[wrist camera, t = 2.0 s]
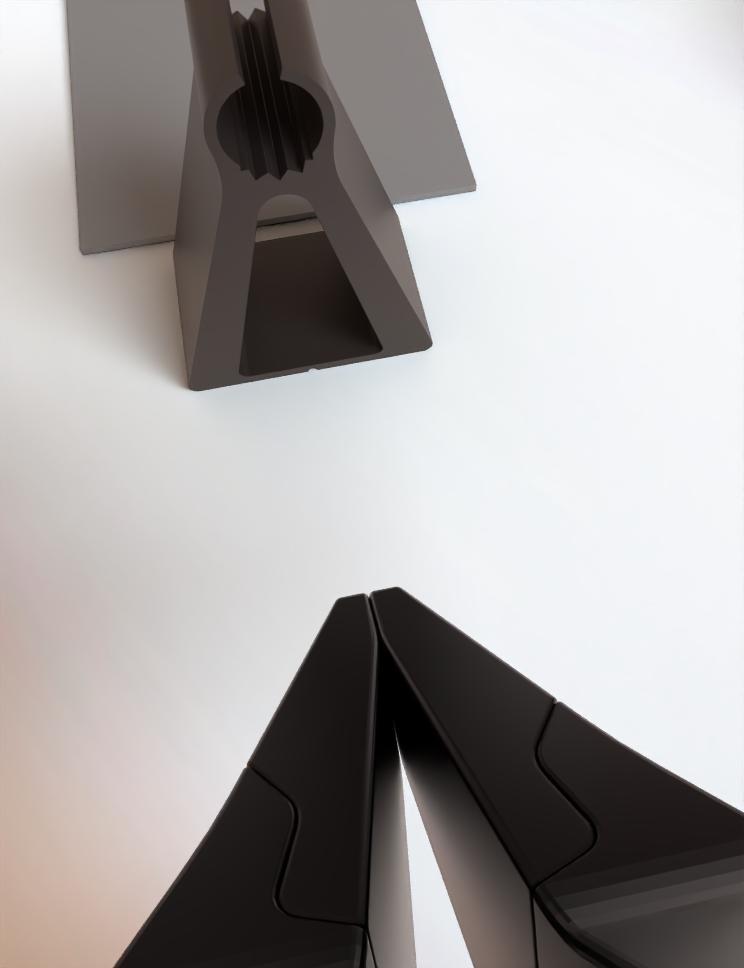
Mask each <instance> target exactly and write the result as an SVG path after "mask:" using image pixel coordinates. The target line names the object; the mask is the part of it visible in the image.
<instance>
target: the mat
mask: <svg viewBox="0 0 744 968" xmlns="http://www.w3.org/2000/svg"><path fill="white" fill-rule="evenodd" d="M229 1H230V7H231V12H232V14H233V13H234V12H236V11H239V12H240V13H241V14H242V15H243V16H244V17H245V18H246V19H247V20H248V19H249V17H250V16H251V14H252V12H253V10H254V8H257V9H260V10H263V11H265V6H264V2H263V0H229ZM307 2H308V6H309V11H310V15H311V19H312V23H313V27H314V31H315V35H316V39H317V43H318V47H319V51H320V55H321V59H322V63H323V66H324V68H325V70H326V72H327V74H328V76H329V78H330V80H331V82H332V84H333V86H334V88H335V90H336V92H337V94H338V96H339V98H340V100H341V102H342V104H343V106H344V108H345V110H346V112H347V114H348V116H349V118H350V120H351V122H352V124H353V126H354V129H355V131H356V133H357V135H358V137H359V139H360V141H361V143H362V145H363V147H364V149H365V151H366V153H367V155H368V157H369V159H370V161H371V163H372V165H373V167H374V169H375V171H376V173H377V175H378V177H379V179H380V181H381V183H382V185H383V187H384V189H385V191H386V193H387V195H388V197H389V199H390V201H391V203H392V204H397V203H403V202H409V201H415V200H421V199H427V198H434V197H440V196H446V195H452V194H458V193H464V192H470V191H476V182H475V179H474V176H473V173H472V170H471V167H470V164H469V161H468V158H467V155H466V152H465V148H464V145H463V142H462V139H461V136H460V133H459V130H458V127H457V124H456V121H455V118H454V115H453V112H452V109H451V106H450V103H449V100H448V97H447V94H446V91H445V88H444V85H443V82H442V79H441V76H440V72H439V69H438V66H437V63H436V60H435V57H434V54H433V51H432V48H431V45H430V42H429V39H428V36H427V33H426V30H425V27H424V24H423V21H422V18H421V15H420V12H419V9H418V6H417V3H416V0H307ZM67 12H68V31H69V49H70V68H71V87H72V105H73V124H74V143H75V162H76V180H77V199H78V218H79V236H80V250H81V252H82V254H83V255H86V254H92V253H98V252H104V251H111V250H117V249H123V248H129V247H135V246H141V245H147V244H153V243H159V242H165V241H172V240H175V232H176V223H177V214H178V205H179V196H180V188H181V179H182V170H183V161H184V152H185V143H186V134H187V125H188V116H189V107H190V98H191V89H192V80H193V71H194V64H193V58H192V51H191V44H190V38H189V31H188V24H187V18H186V11H185V4H184V0H67ZM265 12H266V11H265ZM312 217H317V215H316V213H315V211H314V209H313V207H312V205H311V204H310V203H309V202H308V201H307V200H306V199H304V198H302V197H300V196H297V195H290V194H286V195H279V196H276V197H274V198H271V199H270V200H268V201H267V202H265V203H264V204H263V205H262V207H261V208H260V210H259V212H258V217H257V226H263V225H269V224H275V223H281V222H287V221H293V220H300V219H306V218H312ZM257 226H256V227H257Z"/></svg>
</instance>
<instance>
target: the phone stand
mask: <svg viewBox="0 0 744 968" xmlns="http://www.w3.org/2000/svg"><path fill="white" fill-rule="evenodd" d="M263 2H264V6H265V11H266V12H265V11H263V10H260V9H257V8H254V10H253V12H252V14H251V16H250V17H249V19H248V20H247V19H246V18H245V17H244V16H243V15H242V14H241V13H240V12H239V11H236V12H234V13H233V14H232V12H231V7H230V1H229V0H184V4H185V11H186V18H187V24H188V31H189V38H190V44H191V51H192V58H193V64H194V71H193V80H192V89H191V98H190V107H189V116H188V125H187V134H186V143H185V152H184V161H183V170H182V179H181V188H180V196H179V205H178V214H177V223H176V232H175V241H174V250H173V258H174V267H175V275H176V284H177V292H178V301H179V309H180V318H181V326H182V335H183V343H184V352H185V360H186V369H187V377H188V386H189V388H190V389H191V390H194V391H203V390H209V389H214V388H220V387H225V386H231V385H236V384H242V383H247V382H253V381H259V380H264V379H270V378H275V377H281V376H286V375H292V374H297V373H303V372H308V370H309V369H311V368H317V369H318V370H320V369H325V368H331V367H336V366H342V365H347V364H353V363H359V362H364V361H370V360H375V359H381V358H386V357H392V356H397V355H403V354H409V353H414V352H420V351H425V350H427V349H429V348H430V347H431V346H432V344H433V343H432V339H431V335H430V332H429V328H428V324H427V321H426V317H425V313H424V310H423V306H422V302H421V299H420V295H419V291H418V288H417V284H416V280H415V277H414V273H413V269H412V266H411V262H410V258H409V255H408V251H407V247H406V244H405V240H404V236H403V233H402V229H401V225H400V222H399V218H398V215H397V213H396V211H395V209H394V207H393V205H392V203H391V201H390V199H389V197H388V195H387V193H386V191H385V189H384V187H383V185H382V183H381V181H380V179H379V177H378V175H377V173H376V171H375V169H374V167H373V165H372V163H371V161H370V159H369V157H368V155H367V153H366V151H365V149H364V147H363V145H362V143H361V141H360V139H359V137H358V135H357V133H356V131H355V129H354V126H353V124H352V122H351V120H350V118H349V116H348V114H347V112H346V110H345V108H344V106H343V104H342V102H341V100H340V98H339V96H338V94H337V92H336V90H335V88H334V86H333V84H332V82H331V80H330V78H329V76H328V74H327V72H326V70H325V68H324V66H323V63H322V59H321V55H320V51H319V47H318V43H317V39H316V35H315V31H314V27H313V23H312V19H311V15H310V11H309V6H308V2H307V0H263ZM286 194H290V195H297V196H300V197H302V198H304V199H306V200H307V201H308V202H309V203H310V204H311V205H312V207H313V209H314V211H315V213H316V215H317V217H318V219H319V221H320V223H321V225H322V227H323V229H324V231H321V232H315V233H309V234H303V235H297V236H291V237H285V238H279V239H273V240H267V241H261V242H255V234H256V226H257V217H258V212H259V210H260V208H261V207H262V205H263V204H264V203H265V202H267V201H268V200H270V199H271V198H274V197H276V196H279V195H286ZM254 242H255V243H254Z"/></svg>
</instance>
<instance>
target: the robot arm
mask: <svg viewBox="0 0 744 968" xmlns="http://www.w3.org/2000/svg"><path fill="white" fill-rule="evenodd" d="M396 738H397V739H396ZM397 742H398V745H397ZM398 747H399V750H398ZM399 751H400V755H401V759H402V762H403V766H404V769H405V772H406V775H407V778H408V781H409V784H410V787H411V790H412V792H413V795H414V798H415V801H416V804H417V807H418V809H419V812H420V815H421V818H422V821H423V824H424V827H425V829H426V832H427V835H428V838H429V841H430V844H431V846H432V849H433V852H434V855H435V858H436V861H437V864H438V866H439V869H440V872H441V875H442V878H443V881H444V883H445V886H446V889H447V892H448V895H449V898H450V901H451V903H452V906H453V909H454V912H455V915H456V918H457V920H458V923H459V926H460V929H461V932H462V935H463V938H464V940H465V943H466V946H467V949H468V952H469V955H470V958H471V960H472V963H473V966H474V968H744V812H742V811H740V810H738V809H736V808H735V807H733V806H731V805H729V804H728V803H726V802H724V801H722V800H720V799H719V798H717V797H715V796H713V795H711V794H710V793H708V792H706V791H704V790H703V789H701V788H699V787H697V786H695V785H694V784H692V783H690V782H688V781H687V780H685V779H683V778H681V777H679V776H678V775H676V774H674V773H672V772H670V771H669V770H667V769H665V768H663V767H662V766H660V765H658V764H657V763H655V762H653V761H651V760H650V759H648V758H646V757H645V756H643V755H641V754H640V753H638V752H636V751H635V750H633V749H631V748H630V747H628V746H626V745H625V744H623V743H621V742H619V741H618V740H616V739H615V738H613V737H612V736H610V735H609V734H607V733H606V732H604V731H603V730H601V729H600V728H598V727H597V726H595V725H594V724H592V723H591V722H589V721H588V720H586V719H585V718H583V717H582V716H581V715H579V714H578V713H576V712H575V711H574V710H572V709H571V708H569V707H568V706H567V705H565V704H564V703H562V702H557V699H556V698H555V697H553V696H552V695H551V694H549V693H548V692H546V691H545V690H544V689H542V688H541V687H539V686H538V685H537V684H535V683H534V682H532V681H531V680H530V679H528V678H527V677H525V676H524V675H523V674H521V673H520V672H518V671H517V670H516V669H514V668H513V667H511V666H510V665H509V664H507V663H506V662H504V661H503V660H502V659H500V658H499V657H497V656H496V655H495V654H493V653H492V652H490V651H489V650H487V649H486V648H485V647H483V646H482V645H480V644H479V643H478V642H476V641H475V640H473V639H472V638H471V637H469V636H468V635H466V634H465V633H464V632H462V631H461V630H459V629H458V628H457V627H455V626H454V625H452V624H451V623H450V622H448V621H447V620H445V619H444V618H443V617H441V616H440V615H438V614H437V613H436V612H434V611H433V610H431V609H430V608H429V607H427V606H426V605H424V604H423V603H422V602H420V601H419V600H417V599H416V598H415V597H413V596H412V595H410V594H409V593H408V592H406V591H405V590H403V589H402V588H400V587H392V588H387V589H382V590H377V591H373V592H371V593H370V595H369V597H368V596H367V594H364V593H362V594H356V595H351V596H346V597H341V598H338V599H337V600H336V601H335V603H334V605H333V607H332V609H331V611H330V612H329V614H328V616H327V618H326V620H325V622H324V623H323V625H322V627H321V629H320V631H319V633H318V634H317V636H316V638H315V640H314V642H313V644H312V645H311V647H310V649H309V651H308V653H307V655H306V656H305V658H304V660H303V662H302V664H301V666H300V667H299V669H298V671H297V673H296V675H295V677H294V678H293V680H292V682H291V684H290V686H289V688H288V689H287V691H286V693H285V695H284V697H283V699H282V700H281V702H280V704H279V706H278V708H277V710H276V711H275V713H274V715H273V717H272V719H271V721H270V722H269V724H268V726H267V728H266V730H265V732H264V733H263V735H262V737H261V739H260V741H259V743H258V744H257V746H256V748H255V750H254V752H253V754H252V755H251V757H250V759H249V761H248V763H247V767H246V768H244V769H243V771H242V773H241V775H240V777H239V779H238V781H237V782H236V784H235V786H234V788H233V790H232V792H231V793H230V795H229V797H228V798H227V800H226V802H225V803H224V805H223V807H222V809H221V810H220V812H219V814H218V815H217V817H216V819H215V820H214V822H213V824H212V826H211V827H210V829H209V830H208V832H207V833H206V835H205V836H204V838H203V839H202V841H201V842H200V844H199V845H198V847H197V848H196V850H195V851H194V853H193V854H192V856H191V857H190V859H189V860H188V862H187V863H186V865H185V866H184V868H183V869H182V871H181V872H180V874H179V875H178V876H177V878H176V879H175V881H174V882H173V884H172V885H171V886H170V888H169V889H168V891H167V892H166V893H165V895H164V896H163V898H162V899H161V900H160V902H159V903H158V905H157V906H156V908H155V909H154V910H153V912H152V913H151V915H150V916H149V917H148V919H147V920H146V922H145V923H144V924H143V926H142V927H141V929H140V930H139V931H138V933H137V934H136V936H135V937H134V939H133V940H132V941H131V943H130V944H129V946H128V947H127V948H126V950H125V951H124V953H123V954H122V955H121V957H120V958H119V960H118V961H117V963H116V964H115V965H114V967H113V968H417V967H416V954H415V940H414V927H413V914H412V901H411V888H410V874H409V861H408V848H407V835H406V822H405V808H404V795H403V782H402V772H401V763H400V756H399Z"/></svg>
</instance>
